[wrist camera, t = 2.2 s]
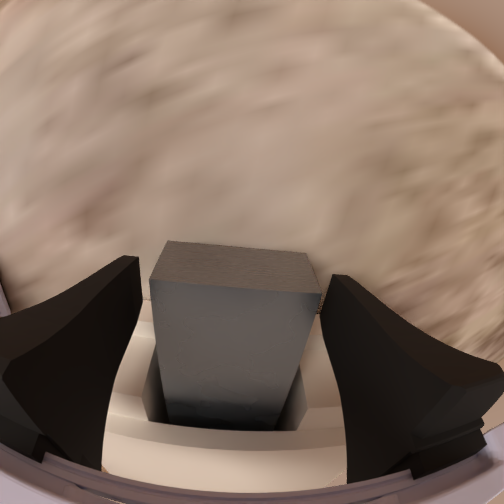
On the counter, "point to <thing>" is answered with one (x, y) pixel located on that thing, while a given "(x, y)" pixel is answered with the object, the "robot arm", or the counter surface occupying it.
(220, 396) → the gray block
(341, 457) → the slotted box
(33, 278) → the counter surface
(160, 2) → the counter surface
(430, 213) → the counter surface
